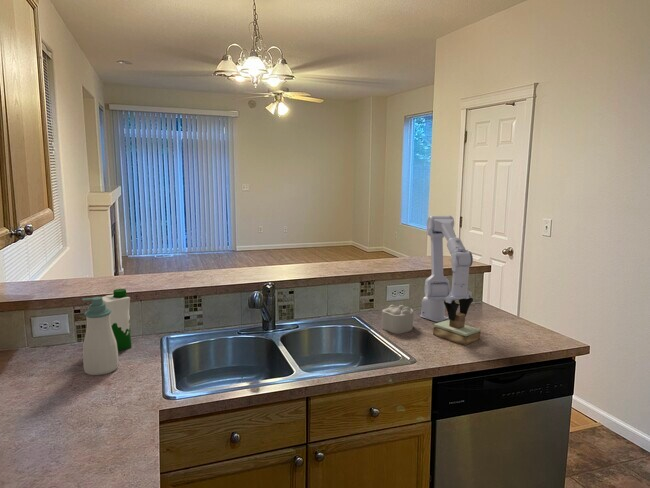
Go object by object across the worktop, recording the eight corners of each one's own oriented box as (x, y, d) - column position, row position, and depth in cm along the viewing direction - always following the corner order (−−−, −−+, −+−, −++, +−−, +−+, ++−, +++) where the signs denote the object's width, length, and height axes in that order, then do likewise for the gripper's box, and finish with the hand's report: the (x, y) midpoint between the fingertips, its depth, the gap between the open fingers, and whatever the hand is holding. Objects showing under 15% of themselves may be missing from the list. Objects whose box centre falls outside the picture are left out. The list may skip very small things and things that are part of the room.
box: (433, 334, 177) (433, 327, 177) (448, 328, 184) (448, 321, 183) (465, 345, 167) (465, 337, 166) (479, 339, 173) (480, 331, 173)
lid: (433, 326, 177) (433, 323, 177) (448, 321, 183) (448, 319, 183) (465, 336, 166) (465, 334, 166) (480, 331, 173) (480, 329, 173)
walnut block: (449, 326, 175) (450, 313, 174) (455, 324, 178) (456, 311, 177) (458, 328, 172) (459, 316, 171) (464, 327, 175) (465, 314, 174)
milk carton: (135, 347, 159) (132, 291, 156) (108, 354, 152) (104, 296, 149) (124, 340, 165) (121, 286, 162) (98, 347, 158) (94, 291, 155)
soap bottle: (86, 365, 145) (81, 295, 141) (120, 361, 148) (116, 292, 144) (81, 378, 136) (76, 304, 132) (118, 373, 139) (113, 301, 135)
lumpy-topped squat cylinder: (377, 327, 184) (378, 306, 183) (400, 321, 192) (401, 301, 191) (396, 335, 176) (397, 313, 175) (419, 328, 184) (420, 307, 183)
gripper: (458, 288, 164) (455, 324, 167) (480, 282, 174) (477, 316, 176) (441, 284, 169) (439, 319, 172) (463, 278, 179) (461, 312, 181)
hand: (457, 317), depth 174 cm, fingers open, 7 cm apart
